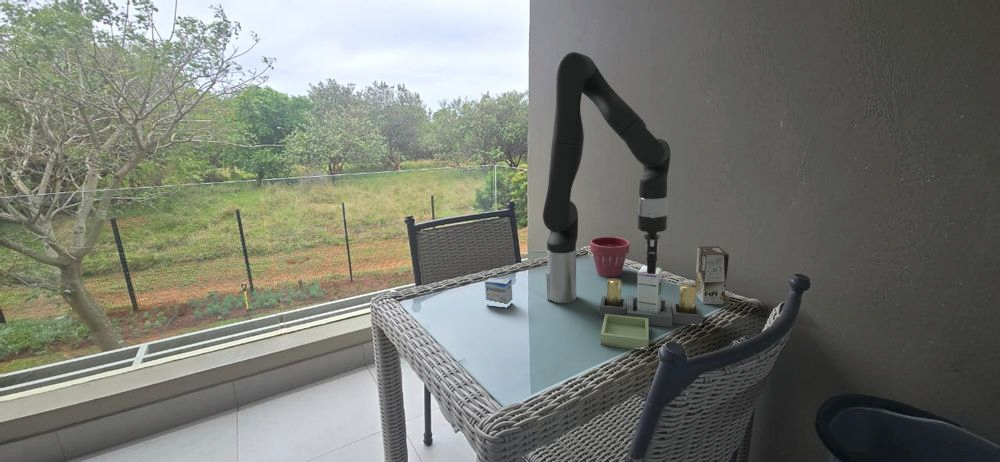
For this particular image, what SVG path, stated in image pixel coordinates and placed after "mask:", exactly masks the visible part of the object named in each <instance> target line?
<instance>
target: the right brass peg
mask: <svg viewBox="0 0 1000 462" xmlns="http://www.w3.org/2000/svg"><path fill="white" fill-rule="evenodd" d="M696 296H697V295H696V286H695V284H692V283H681V284H680V286H679V298H678V303H679V313H687V314H694V308H695V304H696Z"/></svg>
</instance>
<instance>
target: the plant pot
mask: <svg viewBox="0 0 1000 462" xmlns="http://www.w3.org/2000/svg"><path fill="white" fill-rule="evenodd" d="M589 247H590V249H589V251H590V252H591V253H592V255H593V261H594V265H595V269H596V273H597V275H599V276H600V277H603V278H604V277H605V278H617V277H620V276H621V275H622V272H623V268H624V265H625V262H626V257H627V254H629V252H630V241H629V240H627V239H625V238H622V237H616V236H600V237H599V236H598V237H595V238H592V239H591V240H590V245H589ZM619 275H620V276H619Z"/></svg>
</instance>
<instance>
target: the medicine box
mask: <svg viewBox="0 0 1000 462" xmlns="http://www.w3.org/2000/svg"><path fill="white" fill-rule="evenodd" d="M484 288H485V289H484V290H485V301H486V300H489V301H494V302H499V303H504V304H508V303H509V302H510V301H511V300H513V283H512V279H509V278H498V277H489V278H488V279H486V280H485V281H484Z"/></svg>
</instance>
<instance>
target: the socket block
mask: <svg viewBox="0 0 1000 462" xmlns="http://www.w3.org/2000/svg"><path fill="white" fill-rule="evenodd" d="M634 308H637V295H630V294H629V295H628V298H627V297H621V307H616V306H607V295H606V296H605V295H603V296H601V301H600V305H599V316H601V317H602V316H603V317H604V316H605V314H611V315H621V316H630V317H640V318H648V326H649V325H650V326H651V325H652V326H658V327H659V326H660V327H668V328H673V324H676V325H684V326H691V325H690V324H697V323H702V324H703V320H704V317H703V316H704V315H703V312H702V309H701V305H700V304H696V303H695V308H694V314H687V313H679V302H674V301H672V302H671V299H670V298H663V297H661V311H662V310H663V311H664V313H660V314H659V313H649V312H639V311H637V310H634Z"/></svg>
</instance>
